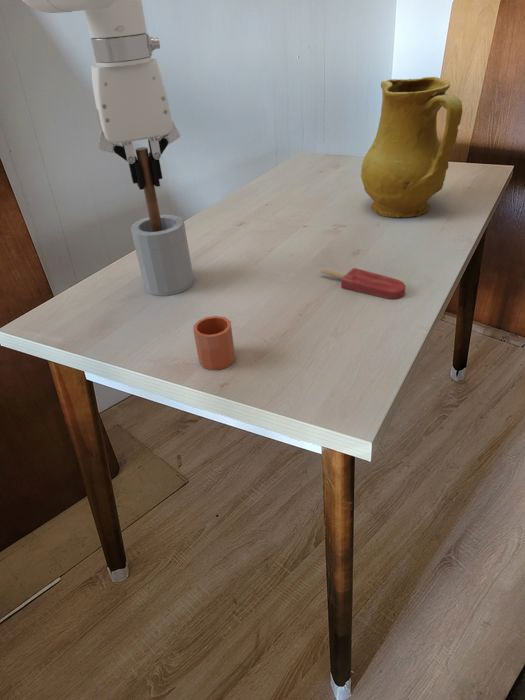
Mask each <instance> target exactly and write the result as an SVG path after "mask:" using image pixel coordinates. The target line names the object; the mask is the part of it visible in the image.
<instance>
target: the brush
mask: <svg viewBox="0 0 525 700" xmlns="http://www.w3.org/2000/svg"><path fill="white" fill-rule="evenodd" d="M135 154H136V155H135V156H136V158H137V160H138V162H139V163H140V167H141V172H142V177H143V182H144V187H145V188H143V189H142V190H143V194H144V198H145V204H146V208H147V215H148V217H149V219H150V224H151V229H152V232H158V231H163V227H162V222H161V217H160V215H161V212H160V206H159V202H158V197H157V191H156V186H155V185H154V181H153V176H152V170H151V165H150V159H149V147H146V146H145V147H137V148H135Z"/></svg>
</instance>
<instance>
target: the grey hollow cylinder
mask: <svg viewBox="0 0 525 700" xmlns="http://www.w3.org/2000/svg"><path fill="white" fill-rule="evenodd" d="M160 217H161V222H162V227H163V231H158V232H152V229H151V224H150V219H149V216H147V217H143V218H141V219H139V220H137V221H136V222H134V223H133V224H132V225H131V227H130V231H131V236H132V241H133V245H134V249H135V252H136V253H135V254H136V257H137V262H138V267H139V270H140V274H141V275H140V276H141V279H142V283H143V287H144V289H145V291H146V292H147V293H148V294H150V295H153V296H159V297H165V296H166V297H167V296H173V295H176V294H180V293H182V292H185V291H186V290H188V289H190V288H191V287H192V286H193V284H194V273H193V272H194V271H193V266H192V261H191V255H190V250H189V243H188V236H187V232H186V225H185V221H184V219H183V218H182V217H180V216H178V215H174V214H160Z"/></svg>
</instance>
